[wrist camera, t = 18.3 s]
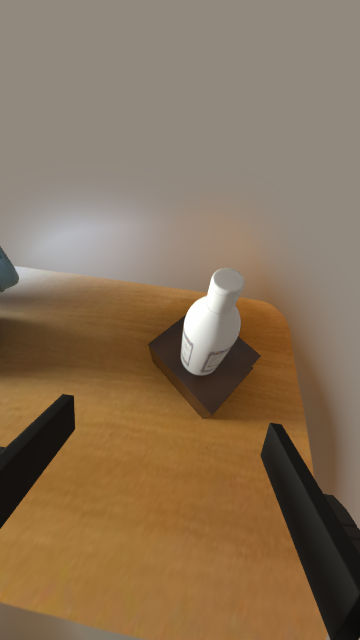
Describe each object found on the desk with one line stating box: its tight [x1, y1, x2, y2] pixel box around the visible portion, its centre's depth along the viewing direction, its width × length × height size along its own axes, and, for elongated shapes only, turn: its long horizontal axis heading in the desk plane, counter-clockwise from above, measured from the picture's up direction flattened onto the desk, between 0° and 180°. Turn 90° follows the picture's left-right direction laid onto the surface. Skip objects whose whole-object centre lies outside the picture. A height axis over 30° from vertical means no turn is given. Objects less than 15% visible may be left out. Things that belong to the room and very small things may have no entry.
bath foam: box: [181, 268, 245, 376], centre depth 25 cm, size 7×7×20 cm
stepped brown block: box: [148, 314, 261, 418], centre depth 39 cm, size 16×17×10 cm
